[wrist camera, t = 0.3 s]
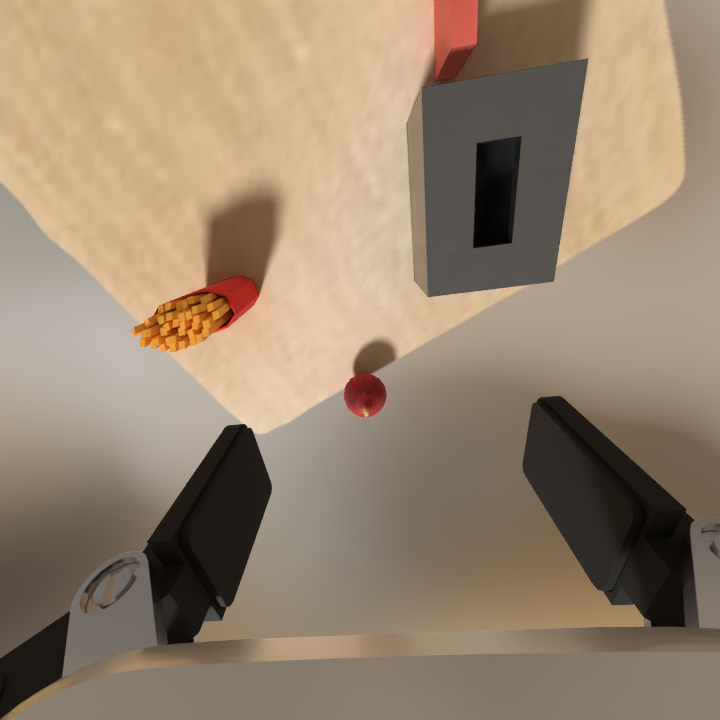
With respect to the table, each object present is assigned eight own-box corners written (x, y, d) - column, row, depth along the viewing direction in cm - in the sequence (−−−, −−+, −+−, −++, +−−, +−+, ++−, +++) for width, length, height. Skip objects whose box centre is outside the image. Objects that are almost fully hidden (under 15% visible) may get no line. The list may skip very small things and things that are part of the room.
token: (433, -7, 26) (451, -67, 21) (456, -11, 26) (480, -73, 20) (435, 80, 29) (451, 48, 23) (455, 77, 28) (476, 43, 23)
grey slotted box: (406, 123, 30) (421, 87, 22) (526, 103, 29) (588, 58, 21) (414, 280, 37) (427, 297, 29) (511, 267, 36) (553, 281, 28)
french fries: (255, 269, 37) (203, 292, 25) (269, 301, 38) (227, 337, 27) (191, 290, 38) (114, 321, 26) (208, 320, 40) (142, 361, 28)
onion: (338, 386, 44) (333, 419, 37) (358, 357, 42) (356, 386, 34) (371, 403, 45) (372, 438, 38) (392, 376, 43) (397, 407, 36)
